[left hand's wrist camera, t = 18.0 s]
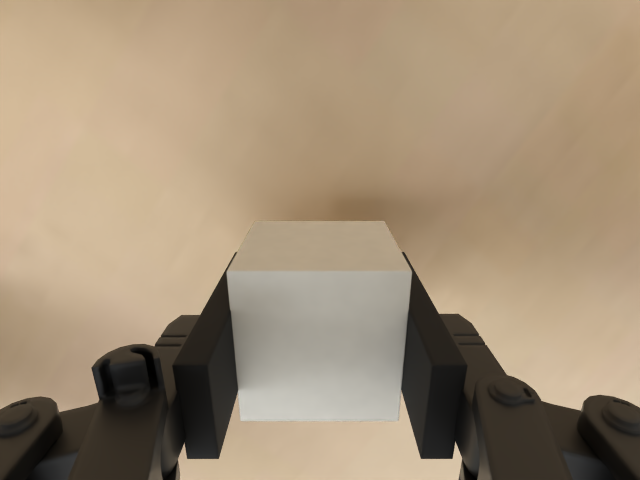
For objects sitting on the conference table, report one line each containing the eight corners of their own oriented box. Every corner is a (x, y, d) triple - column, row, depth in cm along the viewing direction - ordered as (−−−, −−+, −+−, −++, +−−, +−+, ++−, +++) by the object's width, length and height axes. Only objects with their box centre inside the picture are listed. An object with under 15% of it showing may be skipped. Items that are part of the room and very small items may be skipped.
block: (384, 220, 14) (412, 271, 10) (377, 336, 16) (399, 422, 12) (254, 220, 14) (225, 271, 10) (261, 336, 16) (239, 421, 12)
